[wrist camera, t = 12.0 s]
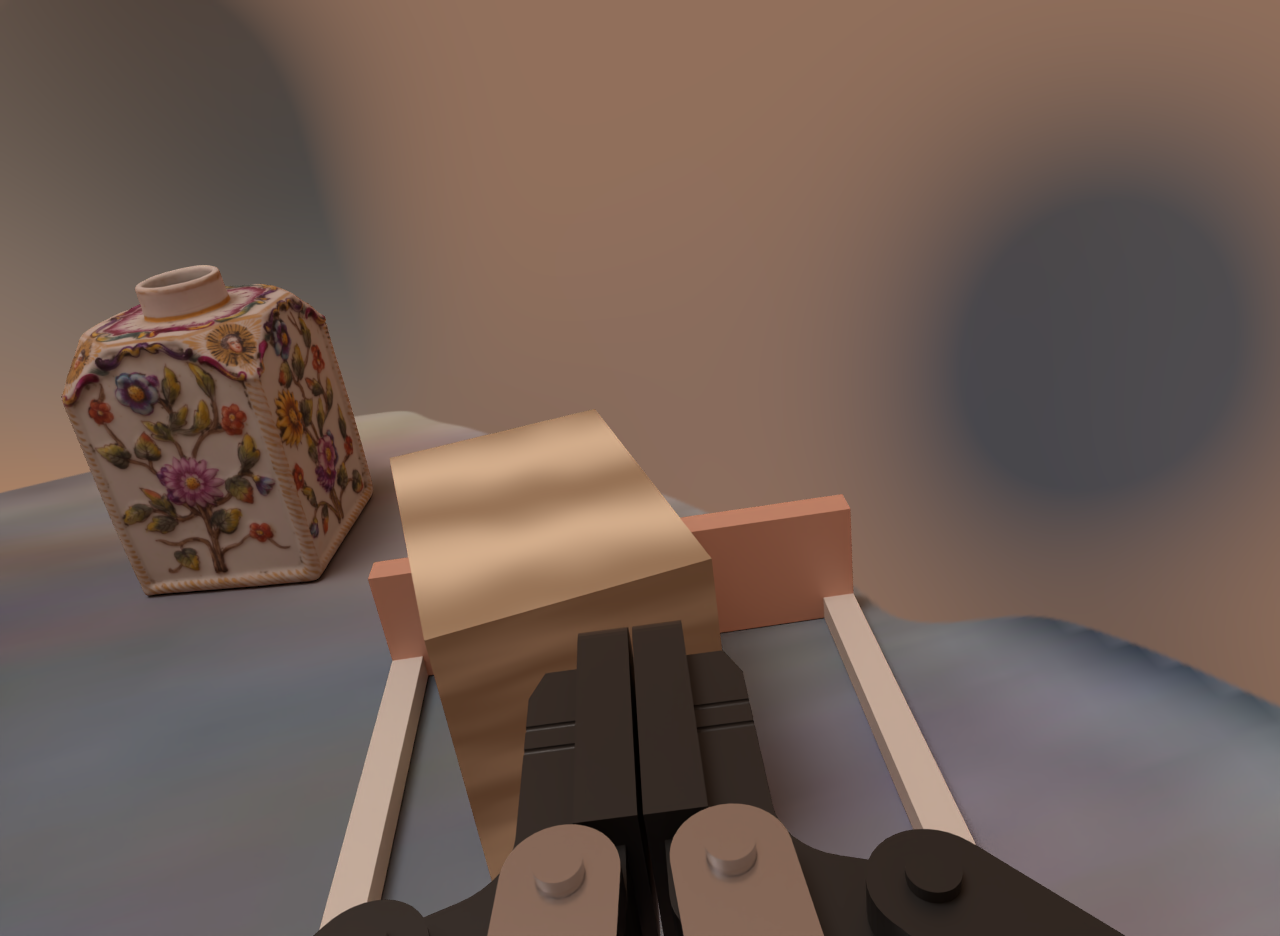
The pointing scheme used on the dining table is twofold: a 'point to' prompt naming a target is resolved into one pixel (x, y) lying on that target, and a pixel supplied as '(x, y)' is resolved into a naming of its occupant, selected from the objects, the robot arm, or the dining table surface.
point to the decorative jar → (218, 434)
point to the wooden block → (535, 581)
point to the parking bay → (746, 598)
